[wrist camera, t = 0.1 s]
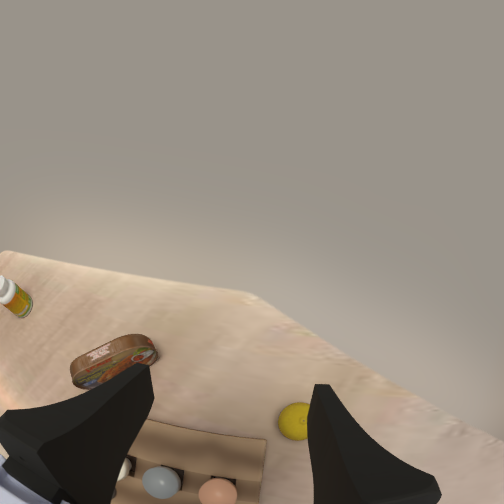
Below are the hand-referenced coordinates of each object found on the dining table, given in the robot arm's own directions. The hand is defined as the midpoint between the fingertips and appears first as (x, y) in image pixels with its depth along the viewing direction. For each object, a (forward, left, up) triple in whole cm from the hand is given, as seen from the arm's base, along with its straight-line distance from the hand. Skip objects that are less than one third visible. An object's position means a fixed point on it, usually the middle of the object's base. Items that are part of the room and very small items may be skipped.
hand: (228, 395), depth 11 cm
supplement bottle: (+10, +49, -32) cm, 59 cm away
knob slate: (-11, +9, -28) cm, 31 cm away
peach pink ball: (-11, +2, -28) cm, 30 cm away
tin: (+4, +21, -32) cm, 39 cm away
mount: (-11, +9, -32) cm, 35 cm away
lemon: (0, -7, -32) cm, 33 cm away
